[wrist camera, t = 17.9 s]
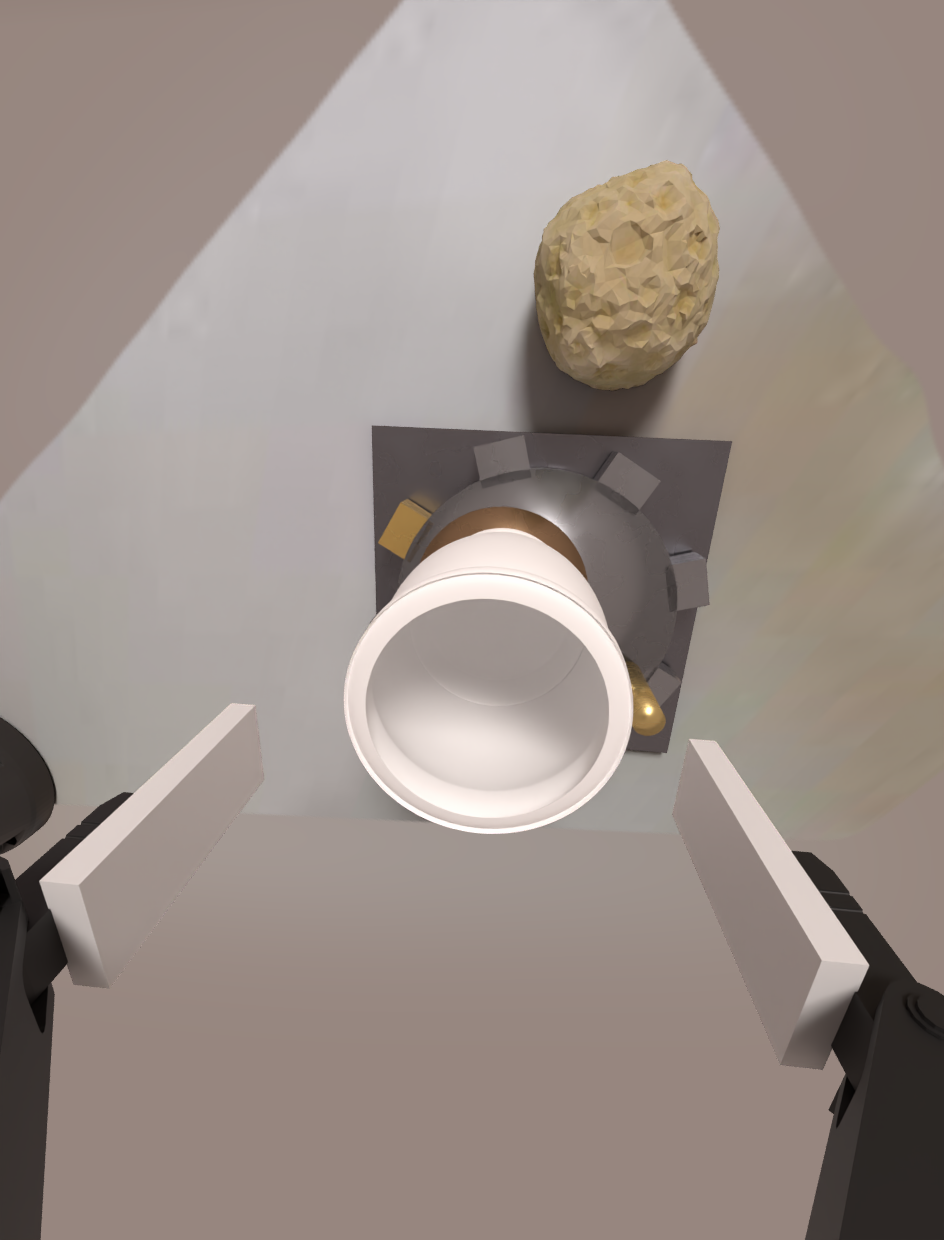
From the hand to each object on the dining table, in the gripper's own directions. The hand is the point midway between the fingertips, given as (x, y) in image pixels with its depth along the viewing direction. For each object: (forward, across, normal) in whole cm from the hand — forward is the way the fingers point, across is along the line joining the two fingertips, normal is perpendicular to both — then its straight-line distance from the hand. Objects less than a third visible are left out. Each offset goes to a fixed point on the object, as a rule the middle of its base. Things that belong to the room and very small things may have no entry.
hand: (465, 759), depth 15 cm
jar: (+18, +1, 0) cm, 18 cm away
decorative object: (+21, +6, +17) cm, 28 cm away
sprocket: (+20, +3, -1) cm, 20 cm away
